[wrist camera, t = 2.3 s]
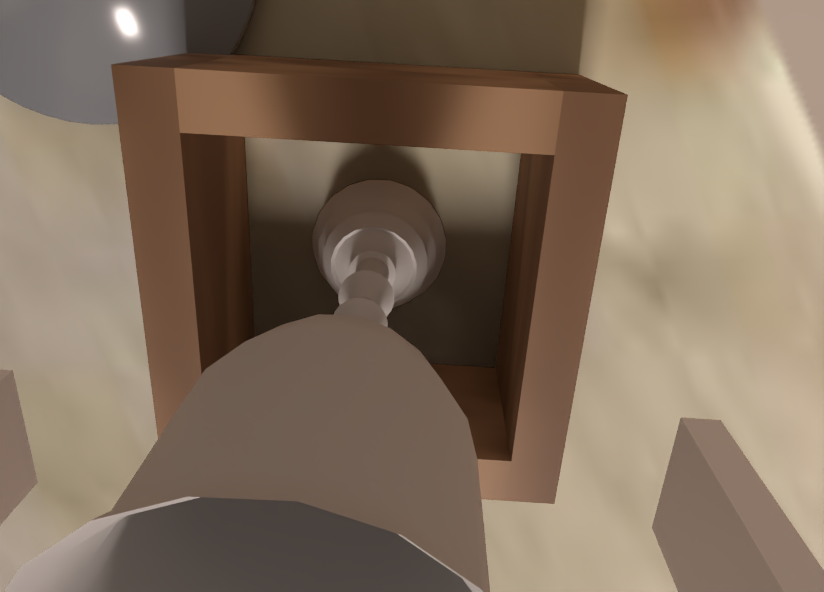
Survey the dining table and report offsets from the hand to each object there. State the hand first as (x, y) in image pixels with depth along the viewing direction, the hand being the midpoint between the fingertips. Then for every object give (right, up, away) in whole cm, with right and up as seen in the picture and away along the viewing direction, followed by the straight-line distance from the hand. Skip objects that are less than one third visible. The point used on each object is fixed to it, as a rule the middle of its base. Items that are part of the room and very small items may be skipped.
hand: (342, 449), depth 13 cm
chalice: (0, +5, +12) cm, 13 cm away
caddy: (0, +5, +11) cm, 12 cm away
